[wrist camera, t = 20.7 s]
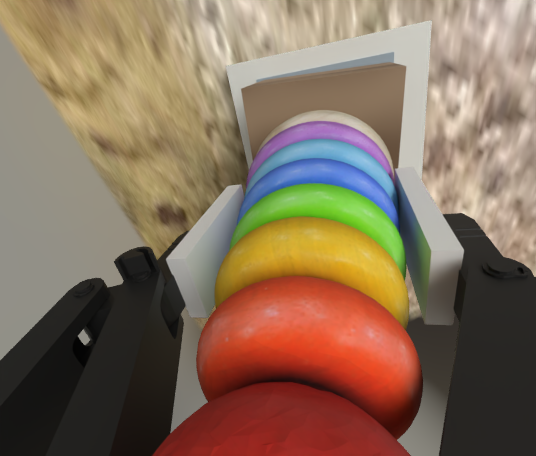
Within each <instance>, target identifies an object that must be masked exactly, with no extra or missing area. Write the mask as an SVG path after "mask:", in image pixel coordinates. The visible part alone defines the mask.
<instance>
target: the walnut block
mask: <svg viewBox="0 0 536 456" xmlns="http://www.w3.org/2000/svg"><path fill="white" fill-rule="evenodd" d="M405 77H406V66H404V65H400V64H396V63H392V62H387V63H380V64H373V65H366V66H359V67H352V68H344V69H337V70H330V71H323V72H316V73H309V74H302V75H295V76H288V77H281V78H274V79H267V80H263V81H260V82H257V83H255V84H252V85H249V86H247V87H244V88H242V89H241V92H242V99H243V105H244V111H245V117H246V123H247V129H248V135H249V141H250V147H251V153H252V159H253V160H254V158H255V157H256V154H257V152H258V150H259V148H260V146H261V144H262V143H263V141H264V140H265V139H266V137H267V136H268V135H269V134H270V133H271V132H272V131H273V130H274V129H275V128H276V127H278V126H279V125H280V124H282V123H283V122H285V121H286V120H288V119H290V118H292V117H294V116H297V115H299V114H302V113H305V112H310V111H317V110H330V111H337V112H342V113H346V114H349V115H351V116H354V117H356V118H358V119H359V120H361V121H363V122H364V123H366V124H367V125H368V126H370V127H371V128H372V129H373V130H374V131H375V132H376V133H377V134H378V135H379V136H380V138H381V139H382V140H383V142H384V144H385V145H386V147H387V149H388V151H389V154H390V157H391V159H392V164H393V169H394V181H395V169H397V168H398V165H399V153H400V140H401V128H402V115H403V103H404V90H405Z"/></svg>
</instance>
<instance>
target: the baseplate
mask: <svg viewBox="0 0 536 456" xmlns="http://www.w3.org/2000/svg"><path fill="white" fill-rule="evenodd" d="M431 23H432V20H430V21H426V22H421V23H417V24H412V25H408V26H403V27H399V28H394V29H390V30H385V31H381V32H376V33H372V34H367V35H363V36H358V37H354V38H349V39H345V40H340V41H336V42H331V43H327V44H322V45H318V46H313V47H309V48H304V49H300V50H295V51H291V52H286V53H282V54H277V55H273V56H268V57H264V58H259V59H255V60H250V61H246V62H241V63H237V64H232V65H228V66H226V70H227V74H228V79H229V83H230V88H231V92H232V97H233V101H234V106H235V110H236V115H237V119H238V123H239V128H240V132H241V137H242V141H243V146H244V150H245V155H246V159H247V164H248V168H249V169H250V167H251V164H252V162H253V159H252V153H251V147H250V141H249V135H248V129H247V123H246V117H245V111H244V105H243V99H242V92H241V89H242V88H244V87H247V86H249V85H252V84H255V83H257V82H260V81H263V80H267V79H274V78H281V77H288V76H295V75H302V74H309V73H316V72H323V71H330V70H337V69H344V68H352V67H359V66H366V65H373V64H380V63H387V62H392V63H396V64H400V65H404V66H406V77H405V90H404V103H403V115H402V128H401V140H400V153H399V165H398V168H406V167H414V169H415V171H416V172H417V174H418V176H419V177H420V179H421V180H422V165H423V149H424V133H425V117H426V102H427V86H428V70H429V55H430V39H431Z"/></svg>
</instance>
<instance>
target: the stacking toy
mask: <svg viewBox="0 0 536 456" xmlns="http://www.w3.org/2000/svg"><path fill="white" fill-rule="evenodd" d="M405 277H406V254H405V249H404V245H403V241H402V239H401V237H400V224H399V202H398V196H397V192H396V190H395V187H394V169H393V164H392V159H391V157H390V154H389V151H388V149H387V147H386V145H385V144H384V142H383V140H382V139H381V138H380V136H379V135H378V134H377V133H376V132H375V131H374V130H373V129H372V128H371V127H370V126H368V125H367V124H366V123H364V122H363V121H361V120H359V119H358V118H356V117H354V116H351V115H349V114H346V113H342V112H337V111H330V110H317V111H310V112H305V113H302V114H299V115H297V116H294V117H292V118H290V119H288V120H286V121H285V122H283V123H282V124H280V125H279V126H278V127H276V128H275V129H274V130H273V131H272V132H271V133H270V134H269V135H268V136H267V137H266V139H265V140H264V141H263V143H262V144H261V146H260V148H259V150H258V152H257V154H256V157H255V158H254V160H253V162H252V164H251V167H250V169H249V173H248V177H247V183H246V192H245V197H244V201H243V203H242V205H241V208H240V211H239V215H238V219H237V226H236V228H235V231H234V233H233V236H232V239H231V243H230V249H229V252H228V253H227V255H226V256H225V258H224V260H223V262H222V264H221V266H220V268H219V271H218V274H217V278H216V283H215V292H214V294H215V306H216V310H215V311H214V312H213V313H212V315H211V316H210V318H209V319H208V321H207V323H206V324H205V326H204V328H203V331H202V333H201V337H200V339H199V342H198V351H197V358H196V362H197V373H198V379H199V382H200V385H201V389H202V391H203V393H204V395H205V397H206V399H207V401H208V403H206V404H205V405H203V406H202V407H201V408H200V409H199V410H197V411H196V412H195V413H193V414H192V415H191V416H190V417H189V418H187V419H186V420H185V421H183V422H182V423H181V424H180V425H179V426H178V427H177V428H176V429H175V430H174V431H173V432H172V433H171V434H170V435H168V436H167V438H166V439H165V440H164V441H163V443H162V444H161V445H160V446H159V447H158V449H157V450H156V451H155V453H154V454H153V455H152V456H411V455H410V454H409V453H408V452H407V451H406V450H405V449H404V447H403V446H402V445H401V444H400V443H399V442H398V441H397V439H399V438H400V437H401V436H402V435H403V434H404V433H405V432H406V430H407V429H408V428H409V427H410V426H411V424H412V422H413V420H414V418H415V417H416V415H417V413H418V410H419V407H420V403H421V398H422V391H423V377H422V370H421V365H420V361H419V358H418V355H417V352H416V349H415V347H414V344H413V342H412V341H411V339H410V337H409V335H408V334H407V332H406V331H405V330H406V327H407V323H408V317H409V298H408V291H407V287H406V284H405Z"/></svg>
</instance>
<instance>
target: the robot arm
mask: <svg viewBox="0 0 536 456" xmlns="http://www.w3.org/2000/svg"><path fill="white" fill-rule="evenodd" d="M394 187H395V190H396V192H397V196H398V202H399V224H400V237H401V239H402V241H403V245H404V249H405V254H406V263H407V267H408V270H409V273H410V277H411V280H412V283H413V287H414V290H415V293H416V297H417V300H418V303H419V306H420V310H421V313H422V316H423V320H424V323H425V324H437V325H438V324H439V325H453V319H454V313H456V315H457V318H458V320H459V322H460V325H459V330H458V336H457V343H456V348H455V356H454V362H453V368H452V375H451V381H450V387H449V394H448V400H447V407H446V413H445V420H444V427H443V433H442V439H441V445H440V452H439V456H536V277H534V276H533V274H532V272H531V270H530V269H529V268H528V267H526V266H525V265H524V264H522V263H520V262H518V261H515V260H513V259H509V258H505V257H503V256H502V255H501V253H500V252H499V251H498V250H497V248H496V247H495V246H494V244H493V243H492V242H491V241H490V239H489V238H488V237H487V236H486V234H485V233H484V232H483V230H482V229H480V227H479V225H478V224H477V223H476V221H475V220H474V219H472V218H470V217H468V216H466V215H465V214H463V213H458V214H442V213H441V212H440V210H439V208H438V207H437V205H436V203H435V202H434V200H433V199H432V197H431V195H430V194H429V192H428V190H427V189H426V187H425V185H424V184H423V182H422V181H421V179H420V177H419V176H418V174H417V172H416V171H415V169H414V167H406V168H397V169H395V181H394ZM243 201H244V193H243V189H242V185H231V186H227V187H226V189H225V190H224V191H223V192H222V193H221V195H220V196H219V197H218V198H217V199H216V200H215V202H214V203H213V204H212V205H211V206H210V208H209V209H208V210H207V211H206V212H205V213H204V215H203V216H202V217H201V218H200V219H199V221H198V222H197V223H196V224H195V225H194V226H193V228H192V229H191V230H190V231H186V232H185V233H183V234H182V235H180V236H179V237H178V238H177V239H176V240H175V241H174V242H173V243H172V245H171V246H170V247H169V248H168V250H166V251H165V252H164V254H163V255H162V256H161V257H160V258H159V259H158V260H157V259H156V257H155V255H154V253H153V250H152V249H151V248H150V247H137V248H134V249H131V250H129V251H127V252H125V253H123V254H122V255H120V256H119V257H118V258H117V259H116V260H115V261H114V263H115V265H116V267H117V269H118V270H119V272H120V274H121V276H122V278H123V280H124V281H123V283H122V284H121V285H117V286H113V287H108V288H107V286H106V284H105V283H104V280H102V279H101V278H93V279H87V280H85V281H82V282H80V283H79V284H78V285H76V286H74V287H73V288H72V289H70V290H69V291H68V292H67V293H66V294H65V295H64V296H63V297H62V298H61V299H60V300H59V301H58V302H57V303H56V304H55V306H53V307H52V308H51V309H50V310H49V312H47V313H46V314H45V315H44V317H43V318H42V319H41V320H40V321H39V322H38V323H37V324H36V325H35V326H34V327H33V328H32V329H31V330H30V331H29V332H28V333H27V334H26V335H25V336H24V337H23V338H22V339H21V340H20V341H19V342H18V343H17V344H16V345H15V346H14V347H13V348H12V349H11V350H10V351H9V352H8V353H7V354H6V355H5V356H4V357H3V358H2V359H1V360H0V456H152V455H153V454H154V453H155V451H156V450H157V449H158V447H159V446H160V445H161V444H162V443H163V441H164V440H165V439H166V438H167V436H168V435H170V431H171V423H172V415H173V406H174V398H175V390H176V382H177V374H178V366H179V358H180V350H181V342H182V333H183V325H184V322H183V318H182V316H181V312H182V311H183V309H184V308H185V306H186V308H187V311H188V313H189V315H190V317H198V318H208V317H209V315H210V313H211V311H212V309H213V307H214V305H215V294H214V292H215V283H216V278H217V274H218V271H219V268H220V266H221V264H222V262H223V260H224V258H225V256H226V255H227V253H228V252H229V249H230V243H231V239H232V236H233V233H234V231H235V228H236V226H237V219H238V215H239V211H240V208H241V205H242V203H243ZM83 329H84V331H85V332H86V334H87V335H88V337H89V338H90V341H89V343H88V344H86V345H84V344H83V343H82V342H81V340H80V339H79V338H78V335H79V334H80V332H81V331H82V330H83Z"/></svg>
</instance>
